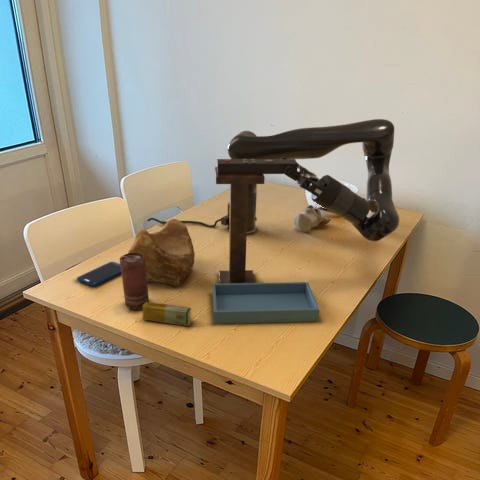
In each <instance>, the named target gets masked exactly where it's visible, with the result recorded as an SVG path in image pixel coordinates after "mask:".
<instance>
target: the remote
mask: <svg viewBox="0 0 480 480" xmlns="http://www.w3.org/2000/svg"><path fill="white" fill-rule="evenodd" d="M298 164H299V163H298V162H297V159H231V158H217V159H216V167H217V172H218V174H264V175H285V174H284V171H285V169H286V168H287V166H290V167H292V168H293V169H295V170H297V171H298V168H297V167H298Z"/></svg>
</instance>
